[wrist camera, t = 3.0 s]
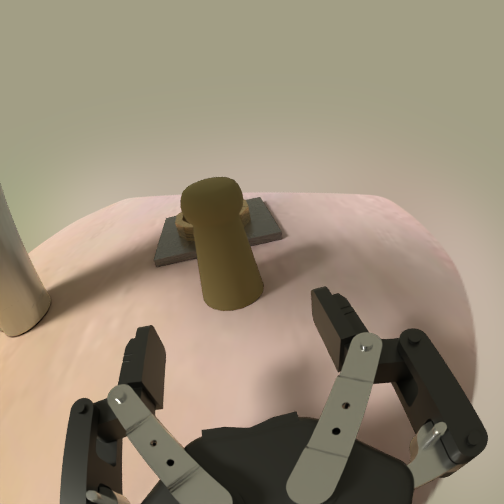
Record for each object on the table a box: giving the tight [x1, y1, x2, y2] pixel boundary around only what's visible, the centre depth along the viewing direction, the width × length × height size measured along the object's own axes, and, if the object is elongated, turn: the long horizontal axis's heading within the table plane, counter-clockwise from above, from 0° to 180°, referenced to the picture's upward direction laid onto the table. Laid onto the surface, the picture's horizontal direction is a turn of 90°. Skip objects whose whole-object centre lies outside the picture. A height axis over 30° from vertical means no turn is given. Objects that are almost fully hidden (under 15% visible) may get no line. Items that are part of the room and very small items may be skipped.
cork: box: [181, 177, 264, 311], centre depth 25 cm, size 6×6×11 cm
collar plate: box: [154, 197, 282, 267], centre depth 40 cm, size 16×14×3 cm
